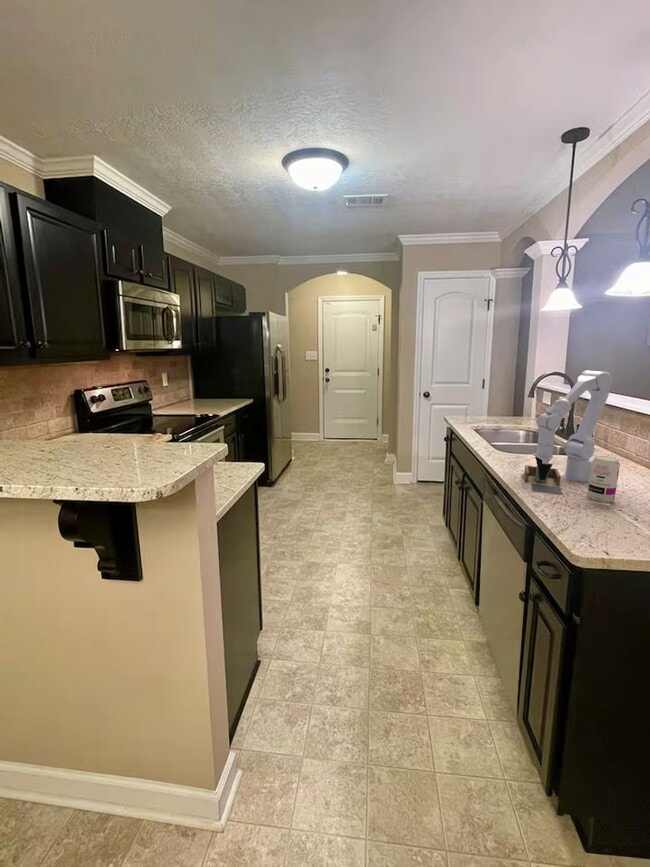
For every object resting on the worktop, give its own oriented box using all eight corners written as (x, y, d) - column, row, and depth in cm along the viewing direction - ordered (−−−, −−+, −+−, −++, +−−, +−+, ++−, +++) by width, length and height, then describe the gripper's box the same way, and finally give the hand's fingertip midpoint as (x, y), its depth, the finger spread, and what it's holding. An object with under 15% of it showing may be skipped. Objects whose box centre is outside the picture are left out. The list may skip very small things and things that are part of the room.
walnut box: (556, 478, 177) (557, 468, 176) (559, 486, 166) (560, 476, 165) (524, 474, 181) (525, 465, 180) (525, 482, 170) (526, 472, 170)
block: (546, 479, 174) (548, 464, 172) (547, 481, 170) (548, 467, 169) (535, 477, 175) (537, 463, 174) (536, 480, 171) (537, 466, 170)
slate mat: (559, 488, 164) (559, 487, 164) (562, 496, 155) (563, 495, 155) (531, 484, 168) (531, 483, 168) (532, 492, 159) (532, 491, 159)
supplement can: (610, 497, 155) (616, 456, 152) (617, 504, 147) (623, 462, 144) (584, 494, 157) (590, 454, 154) (590, 501, 150) (596, 460, 147)
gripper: (533, 439, 178) (529, 471, 180) (535, 446, 164) (531, 480, 167) (552, 441, 175) (548, 473, 178) (556, 448, 162) (551, 483, 165)
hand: (541, 477), depth 172 cm, fingers open, 7 cm apart
